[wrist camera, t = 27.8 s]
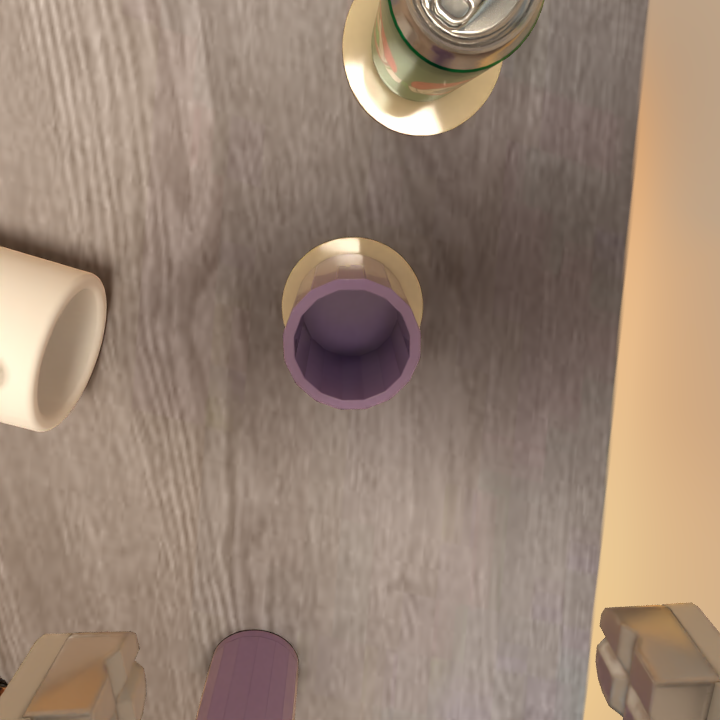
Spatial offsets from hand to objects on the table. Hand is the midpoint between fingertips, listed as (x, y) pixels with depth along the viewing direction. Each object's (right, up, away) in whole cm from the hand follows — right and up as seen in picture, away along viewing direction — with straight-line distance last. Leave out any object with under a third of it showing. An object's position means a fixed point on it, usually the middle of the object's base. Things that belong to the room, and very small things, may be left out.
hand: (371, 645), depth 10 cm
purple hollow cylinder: (-8, -17, +31) cm, 36 cm away
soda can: (+3, +21, +18) cm, 28 cm away
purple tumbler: (-1, +8, +22) cm, 24 cm away
